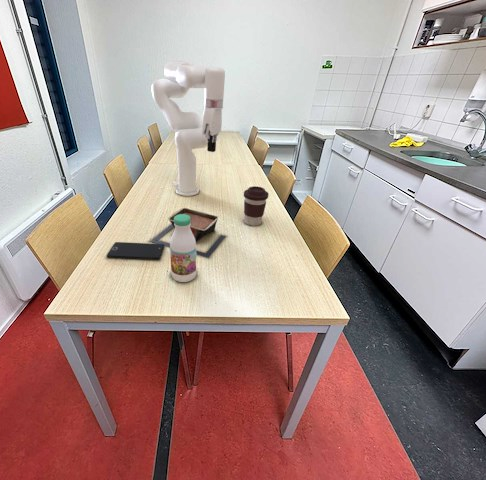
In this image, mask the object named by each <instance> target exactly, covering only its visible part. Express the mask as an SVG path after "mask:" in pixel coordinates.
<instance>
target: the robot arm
mask: <svg viewBox="0 0 486 480" xmlns="http://www.w3.org/2000/svg"><path fill="white" fill-rule="evenodd" d="M163 72H164V76H165V78H157V79H156V80H154V81H153V82H152V84H151V95H152V98H153V100H154V103H155V105H156V107H157V108H158V109H159V110H160V112H161V113H162V114H163V116H164V118H165V120H166V122H167V124H168V126H169V128H170V129H171V131H172V132H173V133H175V135H174V144H175V150H176V156H177V157H176V158H177V181H173V182H172V187H175V188H176V189H175V193H176V194H177V195H179V196H183V197H191V196H196V195H198V194H199V193H200V189H199V187H197V157H196V154H195V153H194V152H193V150H199V149H204V148H206V151H207V152H210V153H215V152H216V149H217V139H218V136H219V134H220V133H221V131H222V122H223V108H224V95H225V94H224V93H225V82H226V81H225V78H226V71H225V68H222V67H214V66H204V65H194V64H193V62H190V61H183V60H171V61H168V62H167V63H166V64H165V66H164V69H163ZM190 89H204V93H203V94H204V95H203V98H204V100H203V102H204V103H203V108H204V109H203V113H202V119H201V117H200V116H199V114H197V113H196V112H192V111H182V110H181V109H180V106H179V105H178V104H177V103H176V102H175V101H174V100H173V99H180V98H184V97H185V96H186V95H187V94H188V93H189V90H190Z"/></svg>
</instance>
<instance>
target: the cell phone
mask: <svg viewBox="0 0 486 480" xmlns="http://www.w3.org/2000/svg"><path fill="white" fill-rule="evenodd" d="M164 249H165V246H164V244H157V243H151V242H150V243H148V242H124V241H115V242H114V244H113V245H112V246H111V248H110V249H109V251H108V252H107V253H106V257H107V258H114V259H133V260H134V259H135V260H136V259H137V260H155V261H156V260H157V261H159V260H161V257H162V255H163V252H164Z"/></svg>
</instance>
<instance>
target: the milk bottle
mask: <svg viewBox="0 0 486 480" xmlns="http://www.w3.org/2000/svg"><path fill="white" fill-rule="evenodd" d="M174 225H175V230H174V231H173V233H172V235H171V237H170V241H169V243H170V247H169V255H170V256H169V257H170V273H171V277H172V279H173V280H174V281H176V282H180V283H188V282H191V281H192V280H194V279H195V278H196V276H197V254H196V251H197V242H196V241H195V237H194V235H193V233H192V231H191V229H190V225H191V218H190V216H188V215H186V214H179V215H176V216H175V217H174Z"/></svg>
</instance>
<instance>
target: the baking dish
mask: <svg viewBox="0 0 486 480" xmlns="http://www.w3.org/2000/svg"><path fill="white" fill-rule="evenodd" d="M179 214H186V215H188V216H190V218H191V225H190V229H191V231H192V233H193V235H194V237H195V241H196V243H198V241H200V240H201V239H202V238H203V237H205V236H208V235H211V234H213V233H214V232H215V230H216V225H217V222H218V220H219V216H218V215H214V214H210V213H207V212H204V211H200V210H195V209H191V208H188V207H183V208H182V207H181V208H180V209H179V210H176V211H175V212H173V213H172V214H171V215H170V216H169V217H168V221H169V222H170V224H172V225H173V226H174V227H173V229H174V230H175V225H174V217H175V216H176V215H179Z"/></svg>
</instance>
